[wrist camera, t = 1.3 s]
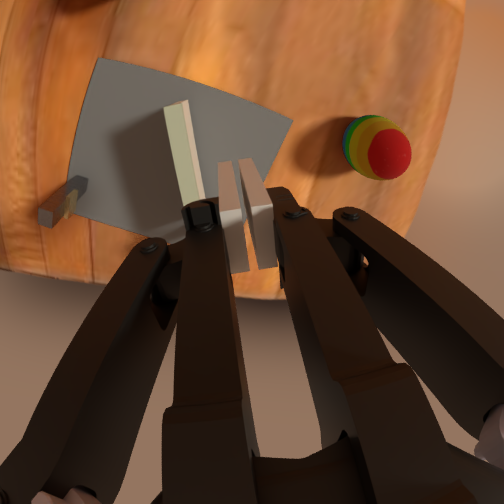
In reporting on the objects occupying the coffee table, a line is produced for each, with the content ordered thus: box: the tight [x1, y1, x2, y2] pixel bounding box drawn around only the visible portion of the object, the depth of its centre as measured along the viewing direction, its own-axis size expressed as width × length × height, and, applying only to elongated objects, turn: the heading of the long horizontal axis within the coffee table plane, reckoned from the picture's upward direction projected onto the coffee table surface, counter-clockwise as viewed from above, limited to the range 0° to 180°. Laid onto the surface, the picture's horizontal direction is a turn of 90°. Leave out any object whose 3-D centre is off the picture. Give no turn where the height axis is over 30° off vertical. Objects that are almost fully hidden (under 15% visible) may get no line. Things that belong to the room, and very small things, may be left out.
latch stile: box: [38, 175, 89, 229], centre depth 29 cm, size 3×3×11 cm
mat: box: [67, 58, 293, 244], centre depth 34 cm, size 26×22×1 cm
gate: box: [163, 100, 206, 206], centre depth 30 cm, size 15×2×9 cm, turn 6°
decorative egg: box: [342, 115, 411, 180], centre depth 31 cm, size 8×8×10 cm
